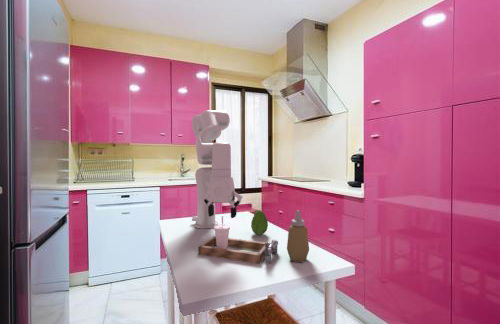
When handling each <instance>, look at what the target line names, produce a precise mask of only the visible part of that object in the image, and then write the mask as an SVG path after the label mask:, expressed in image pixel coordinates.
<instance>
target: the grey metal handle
mask: <svg viewBox="0 0 500 324" xmlns="http://www.w3.org/2000/svg"><path fill="white" fill-rule="evenodd" d="M268 243H270V245H269V246H268ZM278 245H279V241H278V239H272V240H271V242H268V241H265V251H264V254H265V257H264V263H265V264H271V263H272V254H275V255H277V254H278Z"/></svg>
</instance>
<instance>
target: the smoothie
mask: <svg viewBox="0 0 500 324" xmlns="http://www.w3.org/2000/svg"><path fill="white" fill-rule="evenodd" d="M230 229H231V226H230V225H229V224H224V215H222V216H221V224H218V225H216V226H215V227H214V228H213V230H214V234H215V236H216V243H217V245H216V248H223V249H228V246H227V244H228V238H229V235H230V234H229V232H230Z"/></svg>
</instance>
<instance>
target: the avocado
mask: <svg viewBox="0 0 500 324" xmlns="http://www.w3.org/2000/svg"><path fill="white" fill-rule="evenodd" d="M268 226H269V222H268V219H267V217H266V214H265V213H264V211H263V210H260V209H259V210H256V211H255V212H254V215H253V217H252V219H251V225H250V228H251V230H252V232H253V234H255V235H256V236H262V235H264V234H265V233H266V232H267V230H268Z"/></svg>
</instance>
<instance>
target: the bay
mask: <svg viewBox="0 0 500 324" xmlns="http://www.w3.org/2000/svg"><path fill="white" fill-rule="evenodd" d="M265 242H266V241H265ZM265 242H263V241H256V240H255V241H254V240H247V239H241V238H230V237H228V244H227V247H230V249H229V248H227V249H223V248H217V243H216V236H212V237H211V238H209V239H208V240H206V241H205V242H203V243H202V244H200V245H199V246H198V247H197V250H198V251H197V252H198V255H201V256H207V257H213V258H219V259H220V258H221V259H227V260H231V261H239V262H247V263H251V264H252V263H253V264H258V265H260V264H261V263H262V262H263V260H265V254H264V251H265ZM270 243H271V242H268V246H269V245H270ZM215 246H216V247H215ZM231 248H238V249H239V250H236V249H231Z"/></svg>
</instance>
